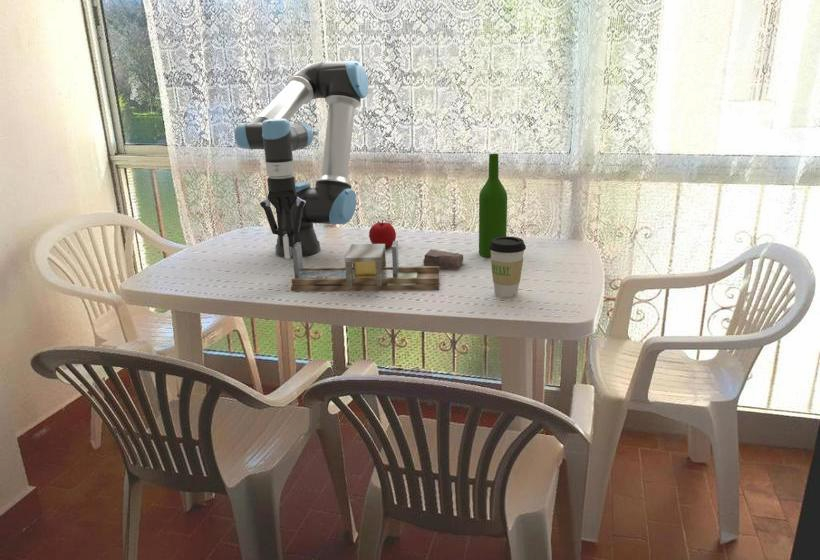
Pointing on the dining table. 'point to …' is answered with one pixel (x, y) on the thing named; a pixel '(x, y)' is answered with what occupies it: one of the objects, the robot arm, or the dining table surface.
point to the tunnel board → (371, 253)
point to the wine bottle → (492, 209)
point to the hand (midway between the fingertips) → (288, 257)
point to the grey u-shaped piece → (360, 270)
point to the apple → (382, 234)
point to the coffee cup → (506, 264)
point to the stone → (443, 259)
